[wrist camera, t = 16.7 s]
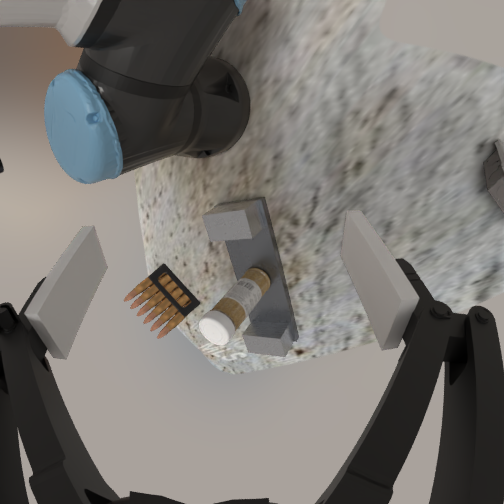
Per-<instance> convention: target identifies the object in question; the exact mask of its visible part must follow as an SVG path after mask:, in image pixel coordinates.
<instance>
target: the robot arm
mask: <svg viewBox="0 0 504 504" xmlns="http://www.w3.org/2000/svg"><path fill="white" fill-rule="evenodd" d="M246 1H247V0H0V27H10V26H11V27H17V26H18V27H19V26H21V27H25V26H27V27H54V28H55V29H57V30H58V31H59V32H60V34H61V35H62V37H63V38H64V40H65V42H66V43H67V45H68V46H72V47H81V48H84V49H83V52H82V55H81V58H80V60H79V63H78V66H77V68H76V69H68V70H65V71H64V72H62V73H60V74H58V75H57V76H56V77H55V79H54V80H52V82H51V83H50V85H49V88H48V90H47V93H46V98H45V108H44V116H45V126H46V131H47V136H48V139H49V143H50V146H51V149H52V151H53V153H54V156H55V157H56V159H57V161H58V163H59V164H60V166H61V167H62V169H63V170H64V171H65V172H66V173H67V174H68V175H69V176H70V177H71V178H73V179H74V180H76V181H78V182H80V183H84V184H91V183H96V182H99V181H102V180H106V179H114V178H117V177H118V176H119V175H121V174H124V173H126V172H129V171H131V170H134V169H137V168H139V167H142V166H144V165H147V164H150V163H153V162H155V161H158V160H161V159H164V158H167V157H170V156H173V155H177V156H184V157H190V158H207V157H211V156H214V155H217V154H220V153H222V152H224V151H226V150H228V149H229V148H231V147H232V146H233V145H234V144H235V143H236V142H237V141H238V140H239V138H240V137H241V135H242V134H243V132H244V130H245V128H246V125H247V122H248V118H249V112H250V99H249V94H248V90H247V87H246V84H245V82H244V80H243V78H242V77H241V75H240V74H239V72H238V71H237V70H236V69H235V68H234V67H233V66H232V65H230V64H229V63H227V62H225V61H223V60H221V59H218V58H214V57H209V56H210V54H211V53H212V51H213V50H214V48H215V47H216V45H217V43H218V42H219V40H220V39H221V37H222V36H223V34H224V33H225V31H226V30H227V28H228V27H229V25H230V24H231V22H232V21H233V19H234V18H235V16H239V15H240V14H241V13H242V9H243V5H244V4H245V2H246ZM340 256H341V258H342V260H343V262H344V264H345V266H346V268H347V271H348V273H349V275H350V277H351V279H352V282H353V284H354V286H355V288H356V290H357V293H358V295H359V297H360V300H361V302H362V304H363V306H364V309H365V311H366V313H367V316H368V318H369V321H370V323H371V325H372V328H373V330H374V333H375V335H376V337H377V340H378V342H379V345H380V347H381V350H387V349H393V348H398V346H399V344H400V342H401V340H402V338H403V340H404V342H405V344H406V347H405V348H404V350H403V352H402V354H401V356H400V358H399V360H398V364H397V367H396V369H395V371H394V373H393V375H392V377H391V380H390V382H389V384H388V386H387V388H386V390H385V392H384V394H383V396H382V398H381V400H380V402H379V404H378V406H377V408H376V410H375V412H374V413H373V415H372V417H371V419H370V421H369V423H368V424H367V426H366V428H365V430H364V432H363V433H362V435H361V437H360V439H359V440H358V442H357V444H356V445H355V447H354V449H353V450H352V452H351V453H350V455H349V457H348V458H347V460H346V461H345V463H344V465H343V466H342V467H341V469H340V470H339V472H338V474H337V475H336V477H335V478H334V479H333V481H332V482H331V484H330V485H329V487H328V488H327V489H326V491H325V492H324V493H323V494H322V495H321V497H320V498H319V499H318V500H317V502H316V503H315V504H388V503H389V501H390V499H391V497H392V494H393V484H394V482H395V480H396V478H397V476H398V474H399V472H400V470H401V468H402V466H403V464H404V462H405V460H406V458H407V456H408V454H409V452H410V450H411V447H412V445H413V443H414V440H415V438H416V436H417V434H418V431H419V429H420V426H421V424H422V421H423V419H424V416H425V413H426V410H427V408H428V405H429V402H430V400H431V397H432V394H433V391H434V388H435V385H436V382H437V379H438V376H439V372H440V369H441V366H442V362H443V361H444V362H445V380H444V383H445V384H444V403H443V418H442V429H441V438H440V446H439V454H438V460H437V466H436V472H435V478H434V483H433V488H432V493H431V498H430V502H429V504H503V502H504V369H503V361H502V355H501V349H500V343H499V337H498V332H497V327H496V322H495V318H494V316H493V315H492V313H491V312H490V311H489V310H488V309H486V308H484V307H482V306H474V307H472V308H471V309H470V310H469V313H468V314H467V315H466V314H457V313H453V312H452V310H451V309H450V308H449V307H448V306H447V305H446V304H444V303H443V302H440V301H436V300H434V298H433V297H432V295H431V294H430V292H429V291H428V289H427V288H426V286H425V285H424V283H423V282H422V280H420V277H419V276H418V274H416V271H415V270H414V268H413V267H412V265H411V264H409V263H408V262H407V261H405V260H404V259H394V257H393V256H392V254H391V253H390V251H389V250H388V248H387V247H386V245H385V244H384V242H383V241H382V240H381V238H380V237H379V235H378V234H377V232H376V231H375V230H374V228H373V227H372V225H371V224H370V223H369V221H368V220H367V219H366V217H365V216H364V214H363V213H362V212H361V210H353V211H347V212H346V220H345V228H344V235H343V242H342V249H341V255H340ZM107 268H108V266H107V264H106V261H105V258H104V255H103V252H102V249H101V246H100V243H99V239H98V236H97V233H96V230H95V227H94V226H84V227H82V228H81V229H80V231H79V232H78V234H77V235H76V236H75V237H74V239H73V240H72V241H71V243H70V244H69V246H68V247H67V248H66V250H65V251H64V252H63V254H62V255H61V257H60V258H59V260H58V261H57V262H56V264H55V265H54V267H53V268H52V270H51V271H50V273H49V274H48V276H47V277H45V278H43V279H42V280H41V281H40V282H39V283H38V284H37V286H36V287H35V289H34V290H33V292H32V293H31V295H30V297H29V298H28V300H27V302H26V303H25V305H24V306H23V308H22V310H21V312H20V313H19V315H17V313H16V311H15V310H14V308H13V307H12V304H11V303H2V304H0V504H29V502H28V497H27V492H26V487H25V482H24V477H23V471H22V464H21V457H20V449H19V440H18V430H19V434H20V437H21V440H22V443H23V446H24V449H25V452H26V454H27V457H28V460H29V462H30V465H31V468H32V471H33V475H32V476H31V477H29V483H30V486H31V489H32V492H33V494H34V496H35V499H36V501H37V503H38V504H184V503H181V502H178V501H175V500H172V499H169V498H166V497H163V496H159V495H151V494H144V493H137V492H132V491H130V497H124V498H119V497H118V495H117V494H116V493H115V492H114V491H113V490H112V489H111V488H110V487H109V486H108V485H107V484H106V482H105V481H104V479H103V478H102V476H101V475H100V473H99V471H98V469H97V468H96V466H95V464H94V462H93V461H92V459H91V457H90V455H89V453H88V451H87V450H86V448H85V446H84V444H83V442H82V440H81V438H80V436H79V434H78V432H77V430H76V428H75V426H74V424H73V421H72V419H71V417H70V415H69V413H68V410H67V408H66V406H65V404H64V401H63V399H62V396H61V394H60V391H59V389H58V386H57V384H56V381H55V378H54V376H53V373H52V370H51V367H50V365H49V362H48V360H47V358H46V357H45V353H46V351H47V349H48V351H49V352H50V354H51V355H52V356H53V358H59V359H67V357H68V354H69V352H70V349H71V347H72V344H73V342H74V339H75V337H76V335H77V332H78V330H79V328H80V325H81V323H82V321H83V318H84V316H85V314H86V312H87V310H88V307H89V305H90V303H91V301H92V299H93V297H94V294H95V292H96V290H97V288H98V286H99V284H100V282H101V280H102V278H103V276H104V274H105V272H106V270H107ZM17 427H18V429H17ZM215 504H277V503H270V502H269V498H264V499H239V500H229V501H225V502H220V503H215Z"/></svg>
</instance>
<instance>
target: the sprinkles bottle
mask: <svg viewBox="0 0 504 504" xmlns="http://www.w3.org/2000/svg"><path fill="white" fill-rule="evenodd" d="M269 288H270V279H269V277H268V275H267V274H266V273H265V272H264V271H262V270H260V269H258V268H250V269H248V270H247V271H246V272H245V274H244V275H243V276H242V277H241V279H240V280H239V281H238V282H237V283H236V284H235V285H234V286H233V287H232V288H231V289H230V290H229V291H228V292H227V293H226V294H225V295H224V296H223V298H222V299H221V300H220V301H219V302H218V303H217V304H216V305H215V307H214V308H213V309H212V310H210V311H209V312H207V313H206V314H205V315H204V316H203V318H202V319H201V320H200V322H199V328H200V331H201V333H202V334H203V335H204V337H205V338H206V339H207V340H209V341H210V342H212V343H214V344H217V345H225V344H227V343H228V342H229V341H230V339H231V338H232V337H233V336H234V334H235V331H236V329H237V328H238V327H239V326H240V324H241V323H242V322H243V321H244V320H245V319H246V317H247V316H248V315H249V313H250V312H251V311H252V309H253V308H254V307H255V306H256V304H257V303H258V302H259V300H260V299H261V297H262V296H263V295H264V293H265V292H266V291H267V290H268V289H269Z"/></svg>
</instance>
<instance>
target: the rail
mask: <svg viewBox="0 0 504 504" xmlns="http://www.w3.org/2000/svg"><path fill="white" fill-rule="evenodd" d="M202 218H203V221H204V224H205V227H206V230H207V233H208V236H209V239H210V242H212V241H225V243H226V246H227V249H228V252H229V256H230V259H231V262H232V265H233V268H234V271H235V275H236V278H237V281H239V280H240V279H241V277H242V276H243V275H244V274H245V272H246V271H247V270H248V269H250V268H258V269H260V270H262V271H264V272H265V273H266V274H267V275H268V277H269V279H270V288H269V289H268V290H267V291H266V292H265V293H264V295H263V296H262V297H261V299H260V300H259V302H258V303H257V304H256V306H255V307H254V308H253V309H252V311H251V312H250V313H249V318H250V321H251V324H250V325H249V326H248V328H247V329H246V330H245V332H244V333H243V334H242V336H243V339H244V341H245V344H246V347H247V350H248V352H250V353H257V354H265V355H273V356H281V357H286V355H287V353H288V351H289V349H290V347H291V346H292V344H293V342H294V341H296V342H297V340H298V338H299V336H298V331H297V327H296V323H295V318H294V314H293V310H292V306H291V301H290V297H289V293H288V289H287V285H286V280H285V276H284V272H283V268H282V264H281V260H280V256H279V252H278V248H277V244H276V240H275V236H274V232H273V228H272V224H271V220H270V216H269V212H268V208H267V204H266V201H265V197H263V198H255V199H249V200H242V201H235V202H229V203H222V204H218V205H216V206H215V208H213V209H212V210H210V211H208V212H207V213H205V214H204V215H202Z"/></svg>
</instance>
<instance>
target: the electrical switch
mask: <svg viewBox="0 0 504 504" xmlns="http://www.w3.org/2000/svg"><path fill="white" fill-rule="evenodd" d="M495 145H496V147H497V150H496V151H495V152H494V153H493V154H492V155H491V156H490V157H489V158H488V159H487V160H486V161H485V162H484V169H485V176H486V183H487V189H488V192H489V193H490V194H491V196H492V197H493V199H494V200H495V201H496V203H497V204H498V206H499V207H500V209H501V210H502V212H503V213H504V144H503V143H502V142H501V141H500V140H498V141H497V142H495ZM490 187H491V188H490ZM498 199H499V200H498Z"/></svg>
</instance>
